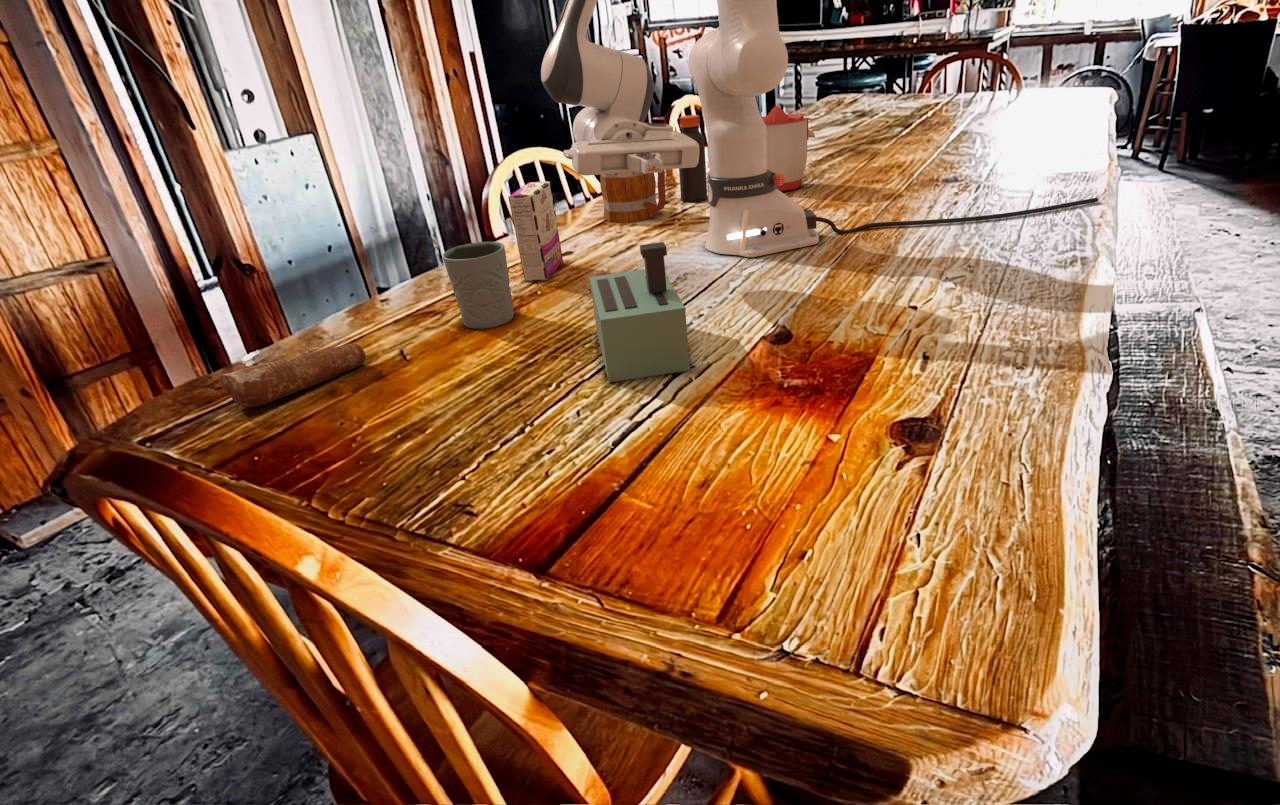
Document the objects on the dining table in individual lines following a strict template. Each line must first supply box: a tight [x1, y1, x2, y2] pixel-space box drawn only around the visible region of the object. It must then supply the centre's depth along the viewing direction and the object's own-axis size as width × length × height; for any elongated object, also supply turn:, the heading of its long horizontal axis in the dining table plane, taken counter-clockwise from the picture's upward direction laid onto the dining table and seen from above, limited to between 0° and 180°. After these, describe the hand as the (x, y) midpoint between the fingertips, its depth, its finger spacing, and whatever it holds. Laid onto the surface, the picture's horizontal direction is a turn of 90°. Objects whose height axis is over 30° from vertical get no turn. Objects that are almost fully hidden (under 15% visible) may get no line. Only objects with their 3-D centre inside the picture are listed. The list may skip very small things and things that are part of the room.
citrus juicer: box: [761, 105, 816, 192], centre depth 179 cm, size 16×17×20 cm
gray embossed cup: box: [442, 241, 515, 330], centre depth 116 cm, size 10×10×12 cm
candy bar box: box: [508, 181, 564, 282], centre depth 135 cm, size 11×5×16 cm, turn 168°
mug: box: [599, 170, 667, 224], centre depth 168 cm, size 20×14×15 cm
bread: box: [218, 342, 367, 409], centre depth 100 cm, size 6×19×6 cm, turn 132°
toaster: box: [589, 268, 691, 383], centre depth 100 cm, size 11×18×9 cm, turn 8°
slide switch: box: [639, 241, 668, 294], centre depth 95 cm, size 3×2×6 cm
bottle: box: [678, 114, 708, 203], centre depth 177 cm, size 7×7×20 cm
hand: (654, 167), depth 104 cm, fingers closed
